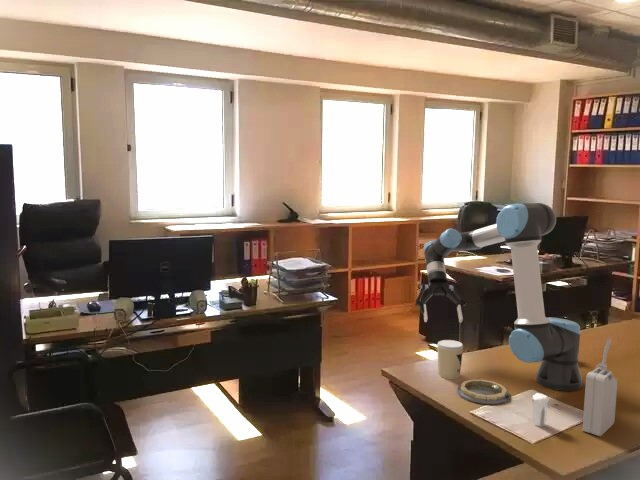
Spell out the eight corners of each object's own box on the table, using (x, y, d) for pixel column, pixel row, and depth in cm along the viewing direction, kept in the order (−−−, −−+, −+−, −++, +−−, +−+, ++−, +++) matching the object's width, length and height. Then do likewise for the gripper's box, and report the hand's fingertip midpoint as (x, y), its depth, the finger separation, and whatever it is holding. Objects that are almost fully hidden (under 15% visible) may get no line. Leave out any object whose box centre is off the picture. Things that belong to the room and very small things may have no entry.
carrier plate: (512, 389, 189) (512, 383, 188) (506, 408, 173) (507, 401, 173) (462, 381, 196) (462, 375, 195) (452, 399, 180) (453, 392, 180)
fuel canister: (599, 415, 169) (605, 336, 166) (617, 420, 166) (623, 340, 163) (581, 431, 158) (587, 348, 155) (599, 437, 155) (606, 352, 152)
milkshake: (525, 421, 165) (527, 389, 164) (542, 420, 165) (544, 388, 164) (532, 428, 160) (534, 395, 159) (550, 427, 161) (552, 395, 159)
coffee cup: (462, 380, 197) (464, 348, 195) (436, 378, 198) (437, 346, 197) (461, 371, 206) (462, 340, 204) (436, 369, 208) (437, 338, 206)
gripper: (465, 280, 227) (473, 325, 215) (405, 279, 227) (410, 325, 214) (469, 270, 222) (478, 316, 209) (407, 269, 221) (412, 315, 208)
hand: (443, 320), depth 212 cm, fingers open, 13 cm apart
